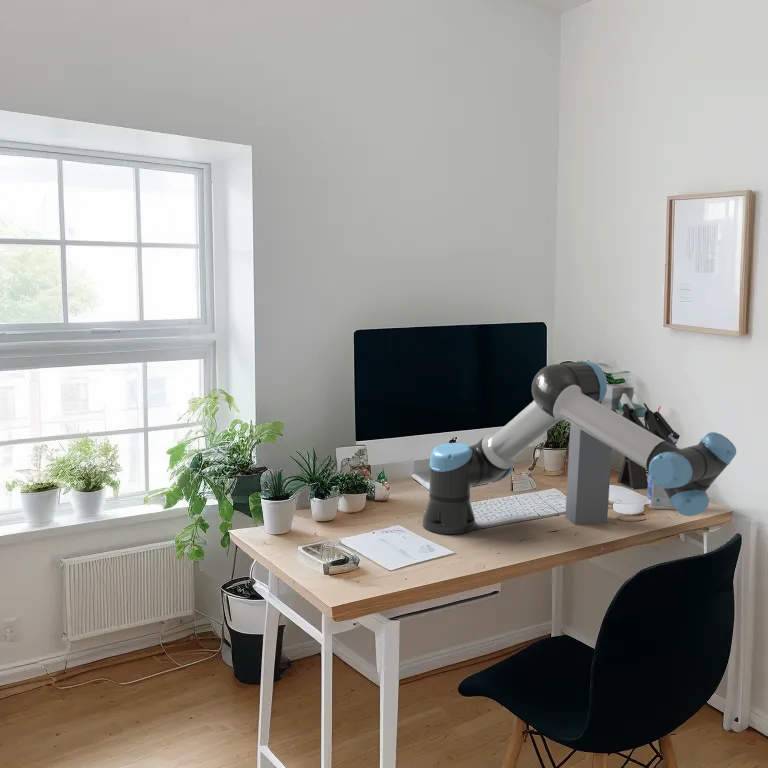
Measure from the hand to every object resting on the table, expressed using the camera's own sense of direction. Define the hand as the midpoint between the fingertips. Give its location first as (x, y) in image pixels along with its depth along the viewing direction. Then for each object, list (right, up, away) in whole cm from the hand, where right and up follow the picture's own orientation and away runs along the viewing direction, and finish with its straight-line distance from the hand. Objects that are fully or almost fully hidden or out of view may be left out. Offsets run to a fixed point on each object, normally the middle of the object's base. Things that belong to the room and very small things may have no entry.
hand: (628, 397), depth 206 cm
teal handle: (0, -4, +2) cm, 4 cm away
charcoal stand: (-4, -37, +27) cm, 46 cm away
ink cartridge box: (+24, -35, +40) cm, 59 cm away
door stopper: (+21, -32, +64) cm, 74 cm away
